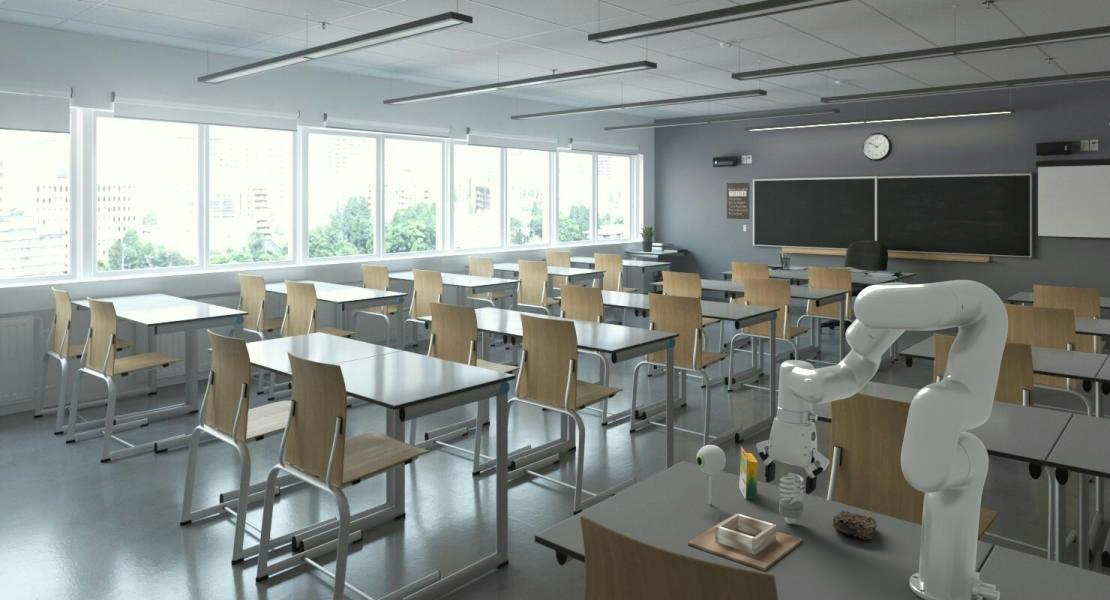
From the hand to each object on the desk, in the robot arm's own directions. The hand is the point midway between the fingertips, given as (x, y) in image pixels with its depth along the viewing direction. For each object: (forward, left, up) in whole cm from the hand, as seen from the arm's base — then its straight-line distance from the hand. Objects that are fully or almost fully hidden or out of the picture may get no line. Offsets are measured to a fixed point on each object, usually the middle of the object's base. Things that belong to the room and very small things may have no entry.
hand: (789, 486), depth 181 cm
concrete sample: (-13, -5, -9) cm, 17 cm away
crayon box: (+15, -10, -9) cm, 20 cm away
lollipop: (+19, +2, -9) cm, 22 cm away
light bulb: (-1, 0, -9) cm, 9 cm away
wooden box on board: (+2, +16, -9) cm, 19 cm away
